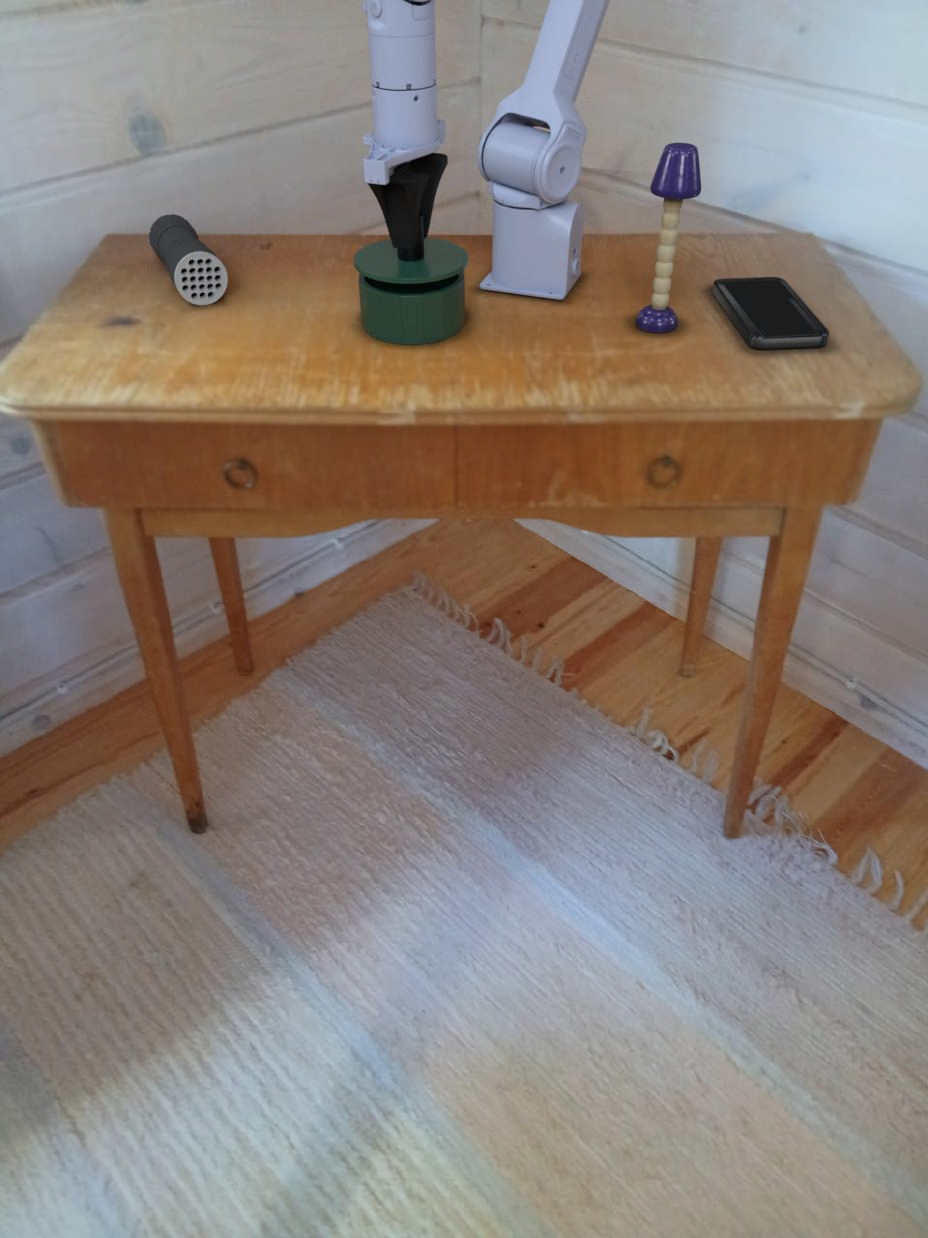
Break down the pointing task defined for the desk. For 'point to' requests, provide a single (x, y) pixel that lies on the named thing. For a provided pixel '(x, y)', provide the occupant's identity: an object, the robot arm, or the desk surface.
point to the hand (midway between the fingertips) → (410, 241)
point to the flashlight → (188, 260)
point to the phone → (769, 313)
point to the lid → (411, 260)
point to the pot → (412, 309)
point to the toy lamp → (669, 228)
